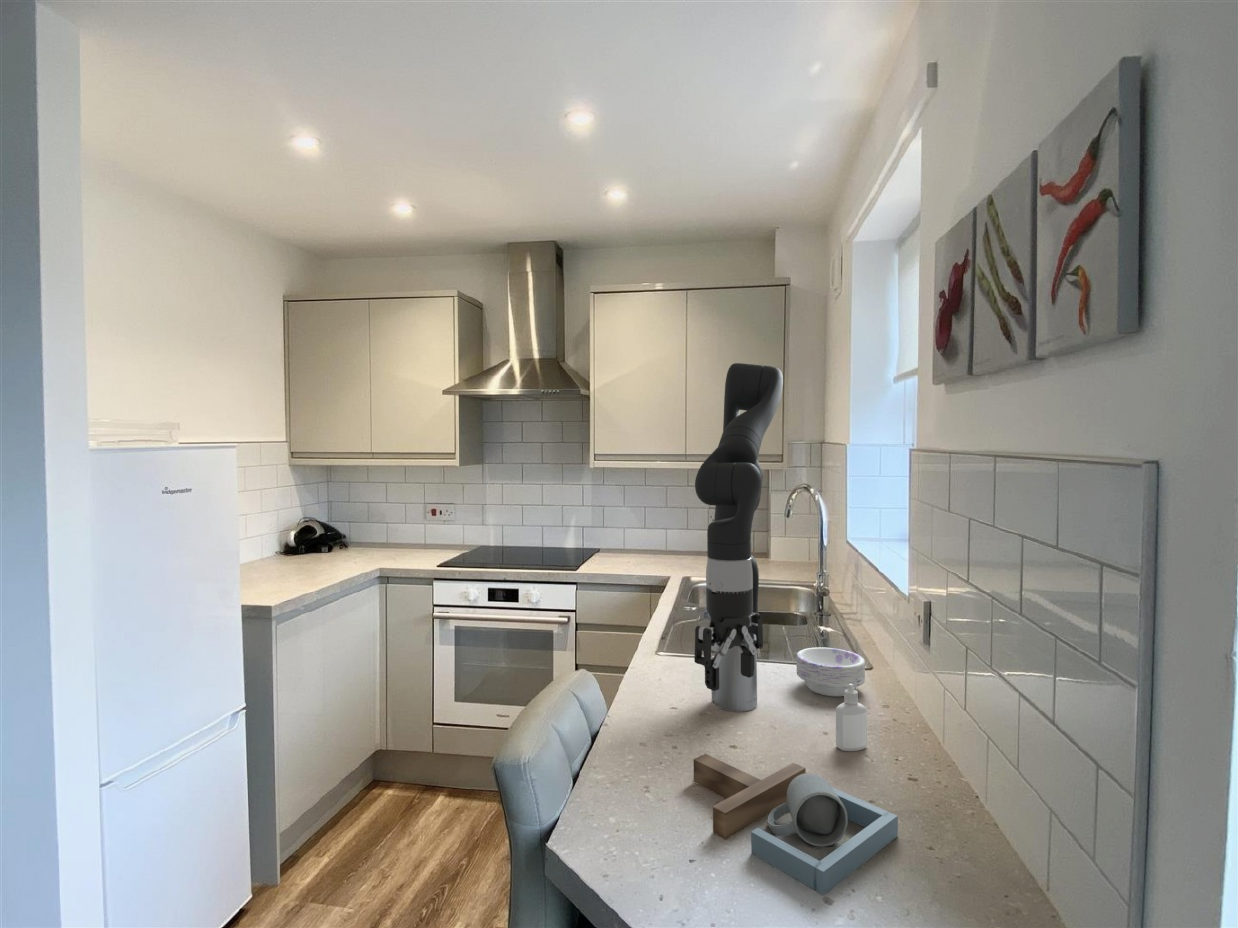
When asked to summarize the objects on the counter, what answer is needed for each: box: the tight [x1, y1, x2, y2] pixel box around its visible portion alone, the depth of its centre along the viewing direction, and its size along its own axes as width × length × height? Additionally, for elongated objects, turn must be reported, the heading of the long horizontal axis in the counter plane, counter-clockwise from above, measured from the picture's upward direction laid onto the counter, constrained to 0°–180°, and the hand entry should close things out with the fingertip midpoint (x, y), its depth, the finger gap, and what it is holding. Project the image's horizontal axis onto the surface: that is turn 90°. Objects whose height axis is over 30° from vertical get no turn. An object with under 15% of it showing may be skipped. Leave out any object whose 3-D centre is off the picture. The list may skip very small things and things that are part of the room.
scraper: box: [692, 753, 807, 841], centre depth 107 cm, size 14×20×4 cm
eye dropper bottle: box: [835, 684, 868, 752], centre depth 123 cm, size 4×6×12 cm
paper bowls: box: [795, 646, 866, 697], centre depth 152 cm, size 15×15×8 cm
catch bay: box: [750, 786, 899, 896], centre depth 93 cm, size 12×19×3 cm, turn 130°
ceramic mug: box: [767, 772, 849, 848], centre depth 97 cm, size 11×8×8 cm
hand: (730, 682), depth 107 cm, fingers open, 8 cm apart
